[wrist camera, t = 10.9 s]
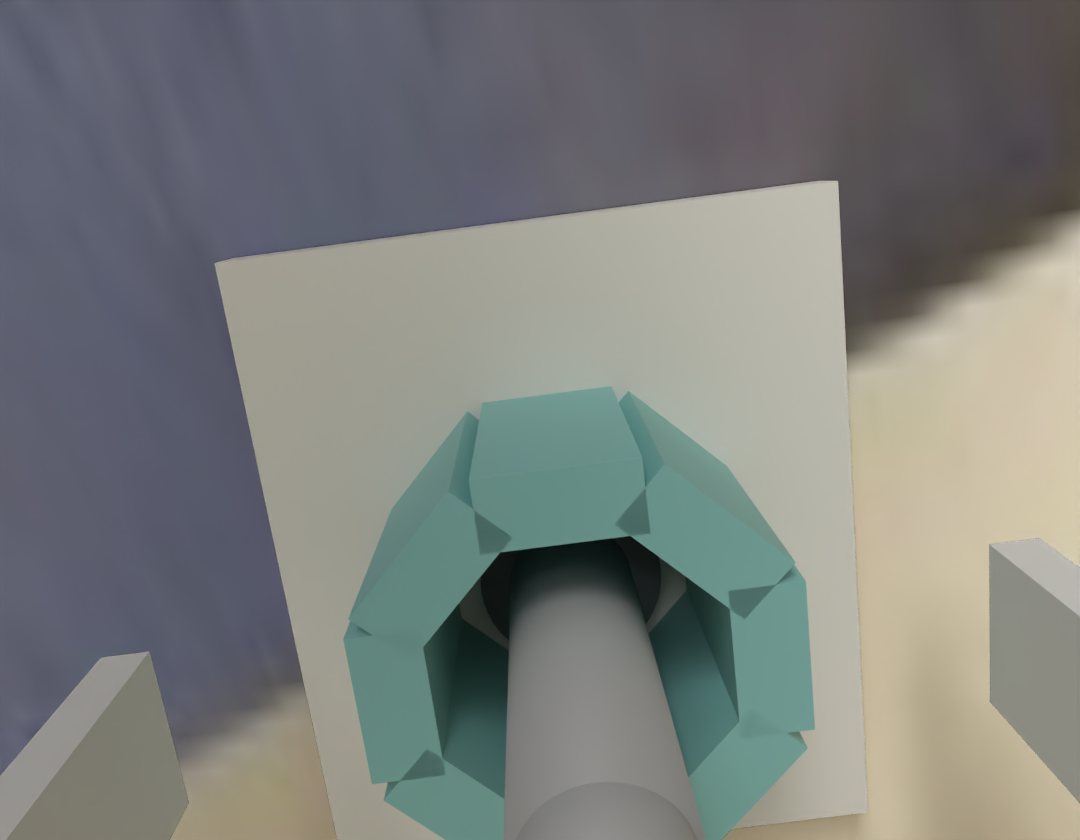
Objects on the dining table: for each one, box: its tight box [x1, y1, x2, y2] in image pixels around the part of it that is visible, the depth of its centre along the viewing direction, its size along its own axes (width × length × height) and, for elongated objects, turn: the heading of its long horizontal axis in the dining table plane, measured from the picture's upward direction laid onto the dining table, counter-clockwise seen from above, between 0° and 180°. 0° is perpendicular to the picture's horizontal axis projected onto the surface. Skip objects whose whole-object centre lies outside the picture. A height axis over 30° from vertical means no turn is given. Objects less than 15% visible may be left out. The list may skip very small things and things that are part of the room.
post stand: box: [214, 181, 868, 840], centre depth 15 cm, size 14×12×11 cm
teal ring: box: [343, 386, 815, 840], centre depth 17 cm, size 7×7×5 cm
